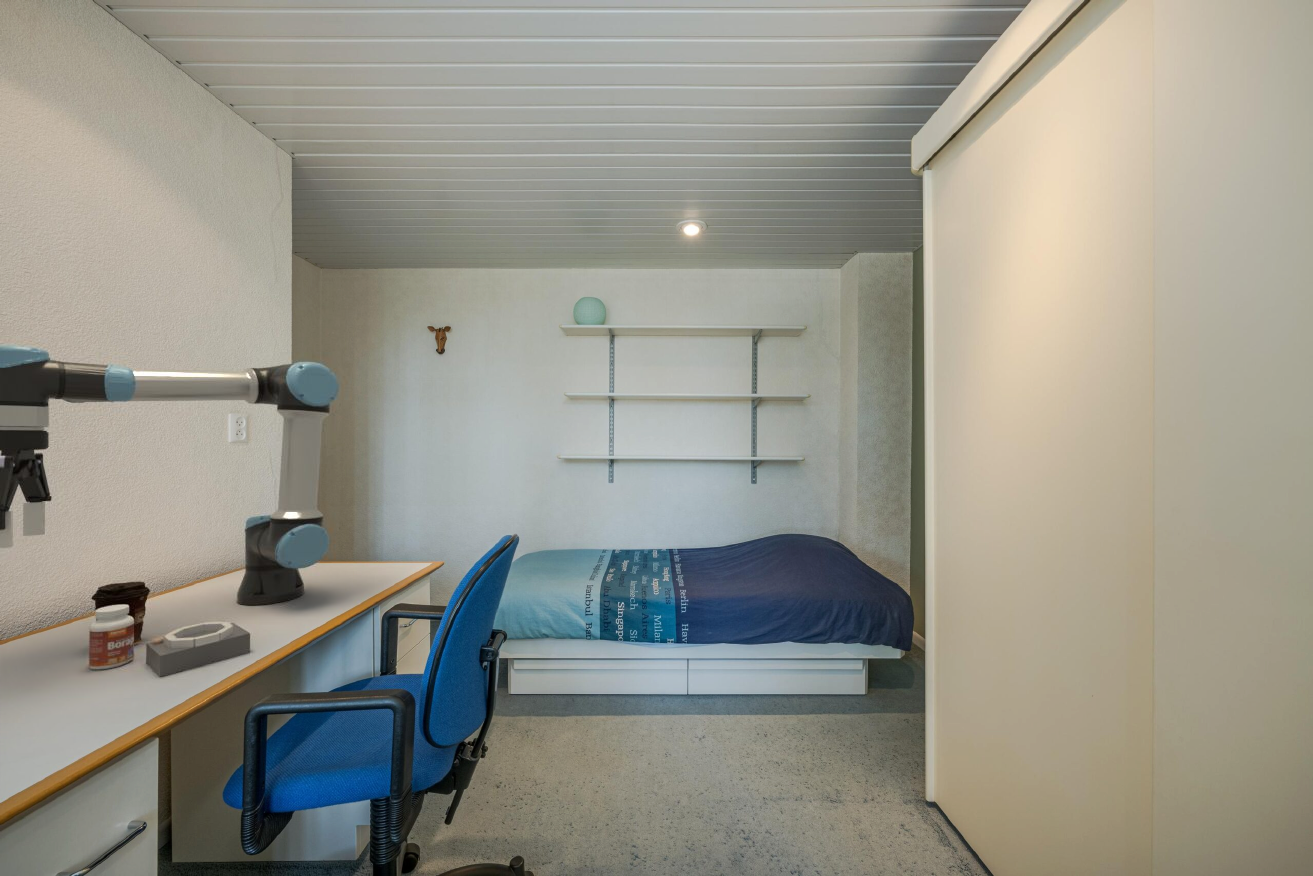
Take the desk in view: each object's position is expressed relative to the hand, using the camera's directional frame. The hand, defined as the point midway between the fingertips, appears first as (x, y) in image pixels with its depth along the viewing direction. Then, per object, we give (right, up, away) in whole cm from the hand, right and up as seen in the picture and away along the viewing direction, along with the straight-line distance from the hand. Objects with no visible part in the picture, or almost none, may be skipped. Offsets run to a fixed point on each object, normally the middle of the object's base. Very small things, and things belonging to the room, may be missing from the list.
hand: (18, 541), depth 99 cm
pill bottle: (+13, -25, +5) cm, 29 cm away
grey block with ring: (+28, -25, +8) cm, 38 cm away
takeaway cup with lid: (+6, -25, +13) cm, 29 cm away
